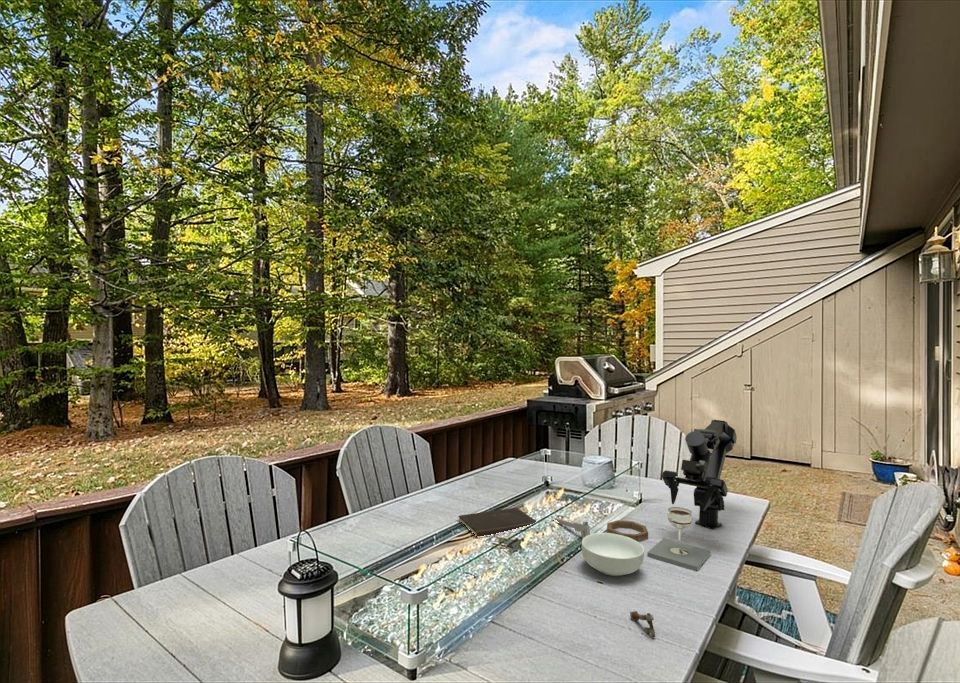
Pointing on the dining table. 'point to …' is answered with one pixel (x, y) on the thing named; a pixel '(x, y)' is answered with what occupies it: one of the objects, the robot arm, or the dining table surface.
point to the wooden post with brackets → (647, 617)
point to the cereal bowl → (612, 553)
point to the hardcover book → (496, 521)
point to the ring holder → (631, 525)
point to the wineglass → (679, 524)
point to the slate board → (689, 560)
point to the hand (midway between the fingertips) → (687, 506)
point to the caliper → (576, 526)
